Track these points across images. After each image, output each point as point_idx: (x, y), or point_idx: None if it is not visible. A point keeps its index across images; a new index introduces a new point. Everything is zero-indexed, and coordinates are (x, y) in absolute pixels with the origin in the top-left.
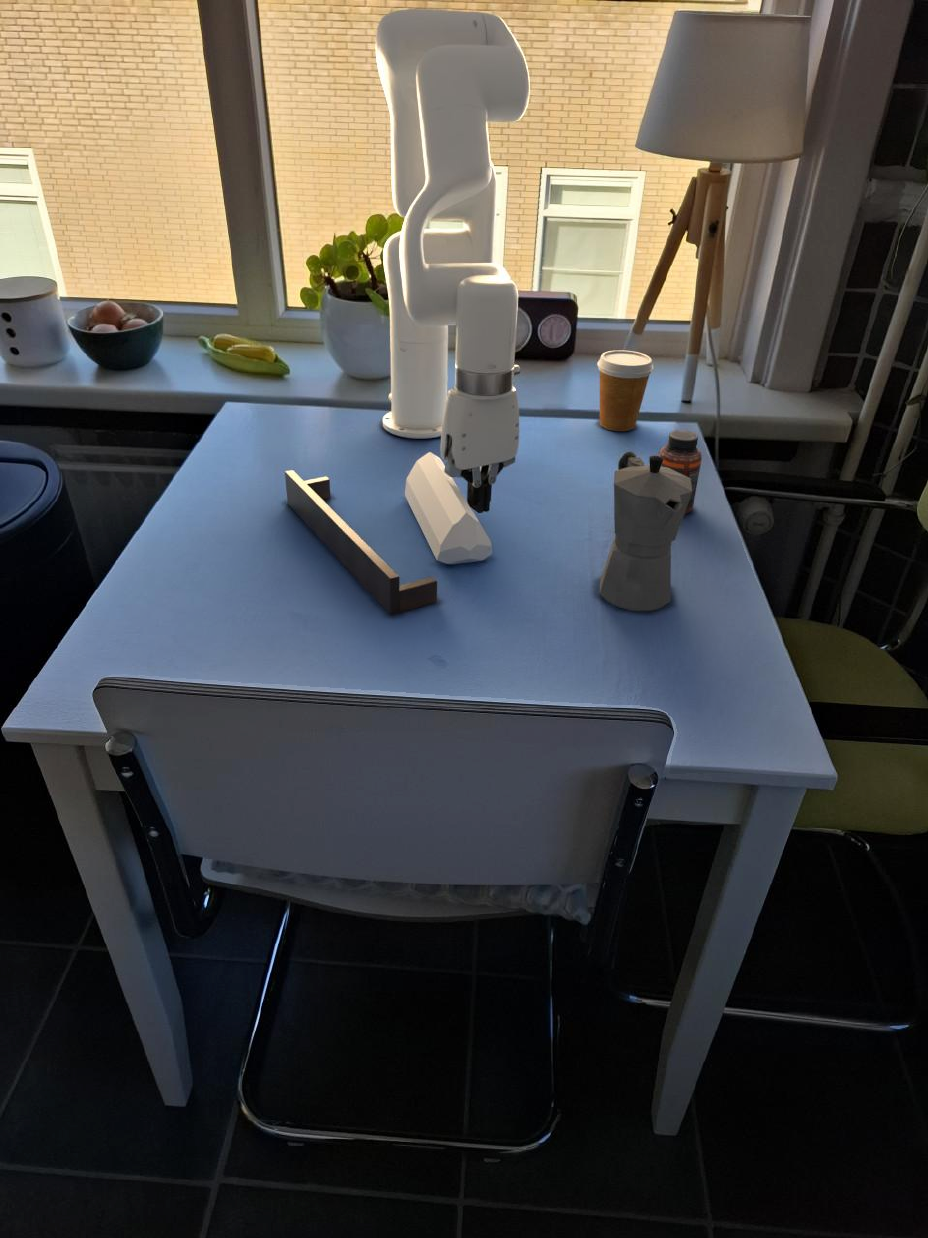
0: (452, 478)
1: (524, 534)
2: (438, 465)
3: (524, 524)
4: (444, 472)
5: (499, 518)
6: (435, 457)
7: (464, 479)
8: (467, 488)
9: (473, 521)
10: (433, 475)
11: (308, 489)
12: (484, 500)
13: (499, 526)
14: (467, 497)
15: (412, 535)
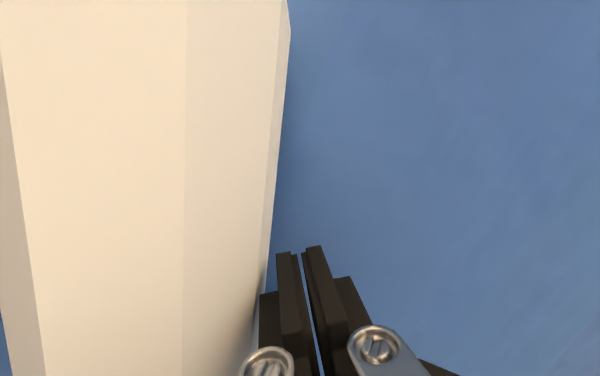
0: (182, 305)
1: None
2: (40, 280)
3: (418, 316)
4: (97, 345)
5: (369, 266)
6: (73, 2)
7: (244, 362)
8: (258, 341)
9: None
10: (16, 319)
11: None
12: (319, 349)
13: None
14: (259, 309)
15: None
